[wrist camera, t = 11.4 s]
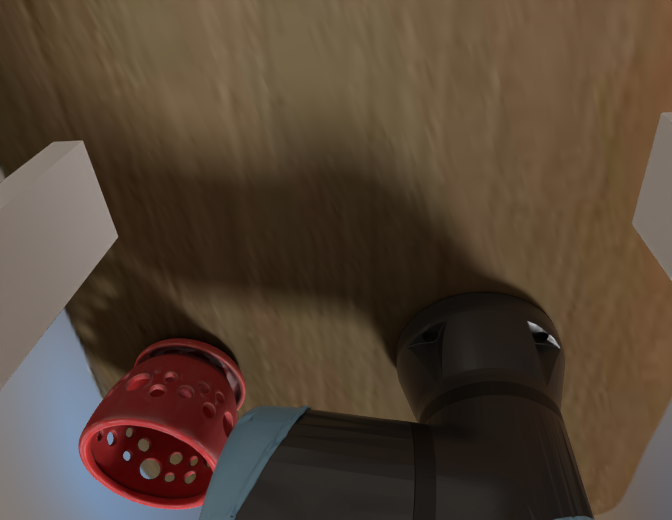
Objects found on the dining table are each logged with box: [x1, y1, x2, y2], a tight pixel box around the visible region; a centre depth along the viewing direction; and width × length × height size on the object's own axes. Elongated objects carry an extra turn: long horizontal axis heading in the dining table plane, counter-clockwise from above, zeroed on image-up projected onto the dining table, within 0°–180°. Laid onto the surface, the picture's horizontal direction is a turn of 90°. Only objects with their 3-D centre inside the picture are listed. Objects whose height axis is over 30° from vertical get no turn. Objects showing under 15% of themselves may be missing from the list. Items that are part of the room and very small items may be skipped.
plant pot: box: [79, 338, 246, 509], centre depth 52 cm, size 13×13×12 cm
